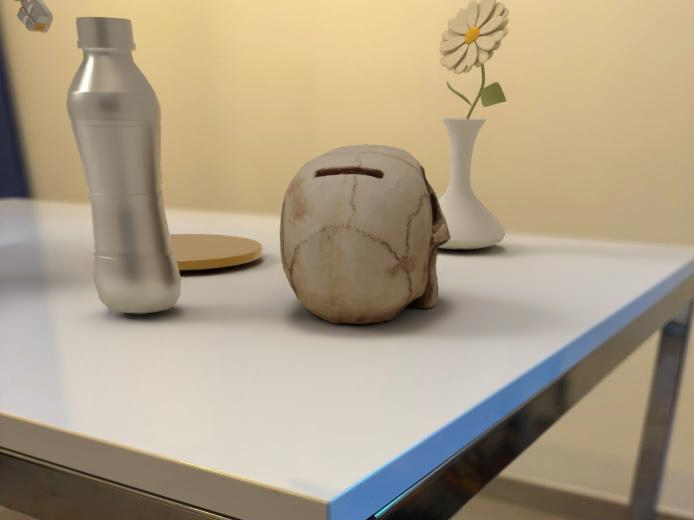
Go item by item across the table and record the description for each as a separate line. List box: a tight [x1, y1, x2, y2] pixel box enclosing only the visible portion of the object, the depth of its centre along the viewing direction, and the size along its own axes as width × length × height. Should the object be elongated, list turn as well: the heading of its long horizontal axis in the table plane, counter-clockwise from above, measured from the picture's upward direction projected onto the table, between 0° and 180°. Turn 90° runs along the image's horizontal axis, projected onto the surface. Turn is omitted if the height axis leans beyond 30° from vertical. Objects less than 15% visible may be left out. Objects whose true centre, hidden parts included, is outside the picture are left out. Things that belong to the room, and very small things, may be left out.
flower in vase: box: [438, 0, 510, 250], centre depth 87 cm, size 13×11×25 cm
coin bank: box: [279, 143, 451, 325], centre depth 63 cm, size 16×17×13 cm
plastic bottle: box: [65, 16, 182, 315], centre depth 58 cm, size 6×7×20 cm
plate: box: [169, 233, 264, 273], centre depth 82 cm, size 17×17×2 cm
